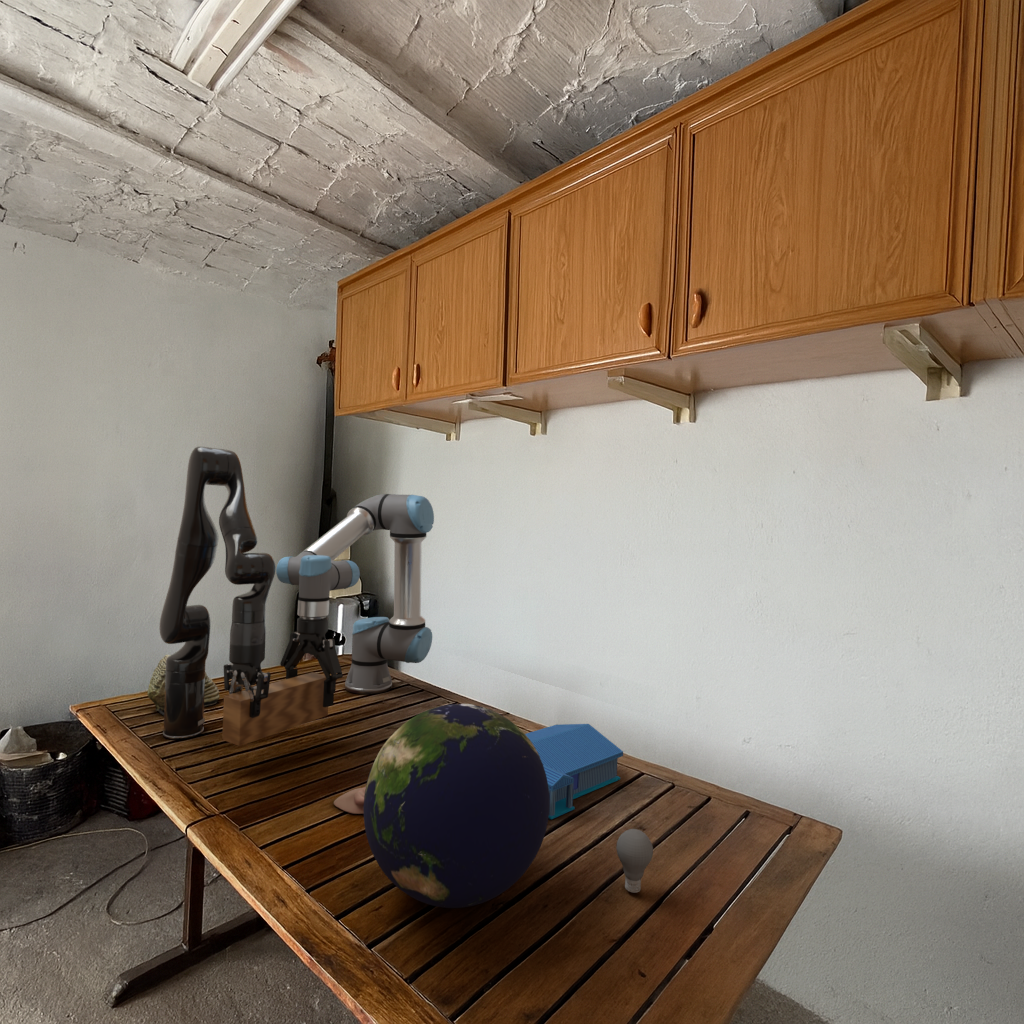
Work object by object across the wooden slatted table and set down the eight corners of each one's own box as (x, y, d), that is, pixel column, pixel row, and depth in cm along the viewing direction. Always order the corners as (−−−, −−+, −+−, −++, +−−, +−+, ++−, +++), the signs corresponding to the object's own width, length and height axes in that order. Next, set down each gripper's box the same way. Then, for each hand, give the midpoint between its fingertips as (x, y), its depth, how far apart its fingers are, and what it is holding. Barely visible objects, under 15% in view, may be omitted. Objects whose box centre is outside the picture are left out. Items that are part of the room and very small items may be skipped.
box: (239, 746, 140) (240, 701, 140) (222, 739, 143) (223, 695, 143) (327, 715, 162) (329, 676, 162) (311, 710, 165) (312, 672, 165)
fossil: (144, 707, 182) (145, 655, 182) (212, 696, 194) (213, 647, 194) (151, 716, 175) (153, 662, 175) (221, 703, 188) (223, 653, 188)
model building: (505, 839, 120) (507, 787, 120) (430, 791, 138) (432, 746, 138) (631, 784, 146) (633, 741, 146) (555, 749, 164) (556, 711, 164)
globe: (319, 919, 95) (326, 721, 95) (420, 827, 123) (427, 673, 122) (502, 984, 84) (511, 760, 83) (568, 867, 112) (576, 698, 111)
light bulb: (610, 879, 108) (613, 822, 108) (644, 879, 109) (647, 822, 109) (619, 902, 102) (622, 840, 102) (655, 901, 103) (658, 840, 103)
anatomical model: (326, 790, 128) (352, 767, 139) (326, 809, 128) (351, 785, 139) (388, 799, 125) (409, 775, 136) (387, 819, 125) (408, 793, 137)
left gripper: (282, 642, 144) (279, 716, 144) (242, 633, 151) (239, 702, 151) (253, 648, 137) (250, 725, 138) (213, 638, 145) (210, 711, 145)
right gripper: (359, 621, 157) (355, 706, 157) (292, 608, 170) (288, 687, 170) (336, 625, 150) (332, 714, 150) (268, 612, 163) (264, 694, 163)
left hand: (245, 713), depth 145 cm, fingers closed on box, 6 cm apart
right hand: (309, 700), depth 160 cm, fingers open, 13 cm apart
